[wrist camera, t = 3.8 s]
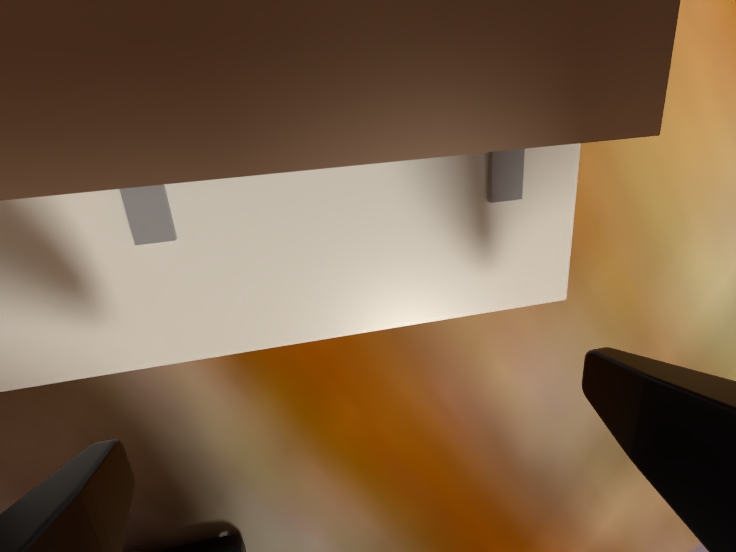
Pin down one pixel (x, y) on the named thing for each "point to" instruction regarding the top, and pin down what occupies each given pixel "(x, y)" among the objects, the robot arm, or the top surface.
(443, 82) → the slider bar
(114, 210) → the panel
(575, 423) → the top surface
